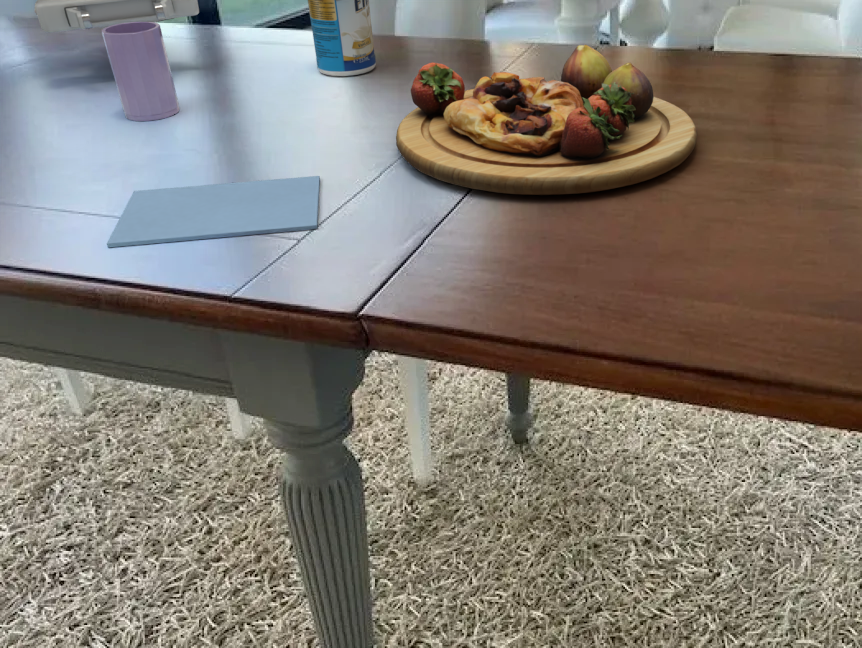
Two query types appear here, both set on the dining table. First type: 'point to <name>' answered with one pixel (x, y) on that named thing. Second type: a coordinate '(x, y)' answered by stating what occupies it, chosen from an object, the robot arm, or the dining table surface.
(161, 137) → the dining table surface
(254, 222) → the light blue flat slab
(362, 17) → the beverage bottle
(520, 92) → the wooden plate
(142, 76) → the cup
